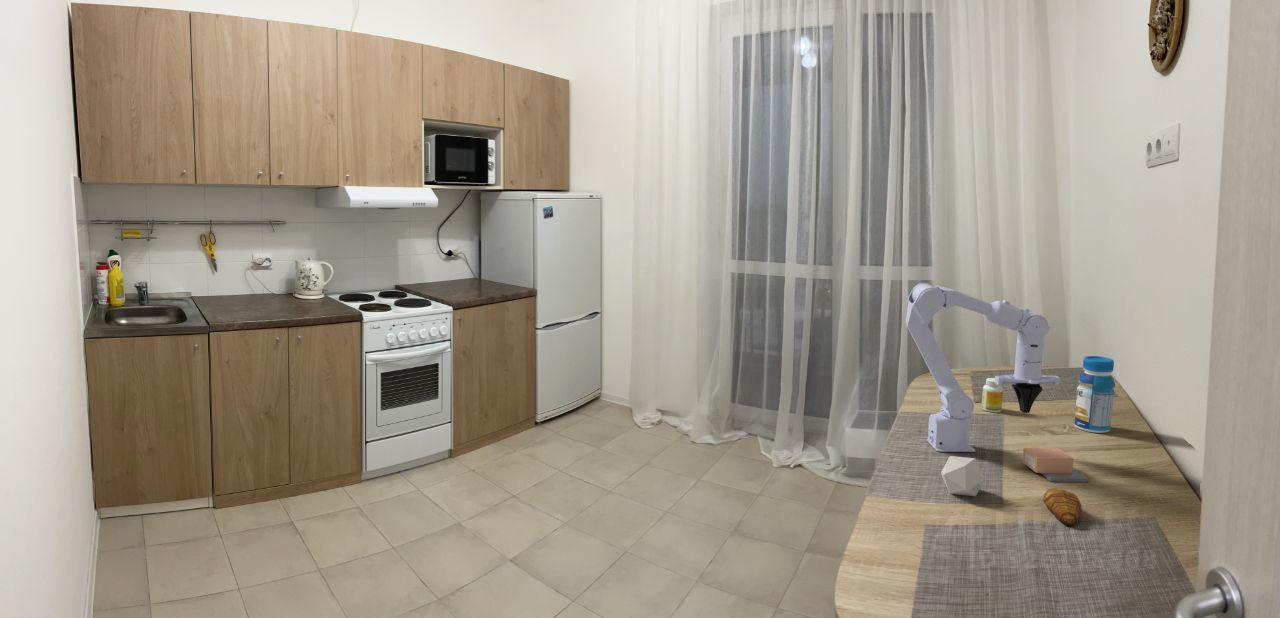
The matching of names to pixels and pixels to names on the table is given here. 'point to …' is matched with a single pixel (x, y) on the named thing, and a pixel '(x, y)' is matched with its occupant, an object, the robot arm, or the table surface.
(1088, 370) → the beverage bottle
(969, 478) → the die
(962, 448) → the robot arm
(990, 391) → the supplement bottle
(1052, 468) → the block
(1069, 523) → the croissant
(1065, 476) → the board
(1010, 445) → the table surface
